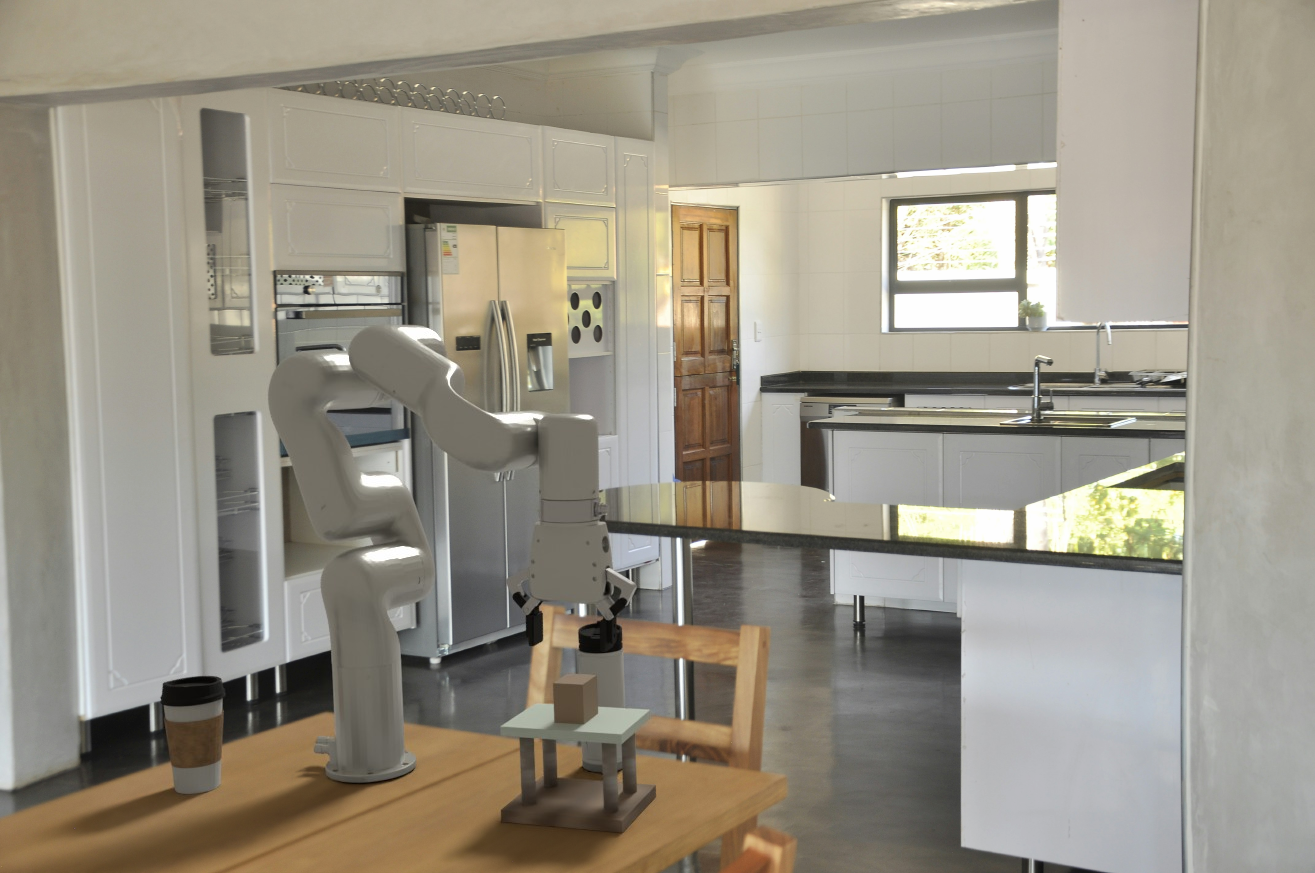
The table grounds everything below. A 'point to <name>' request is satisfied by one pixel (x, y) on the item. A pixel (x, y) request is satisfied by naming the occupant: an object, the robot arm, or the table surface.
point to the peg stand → (579, 792)
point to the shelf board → (575, 732)
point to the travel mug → (602, 684)
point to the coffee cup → (194, 731)
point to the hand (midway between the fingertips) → (571, 646)
